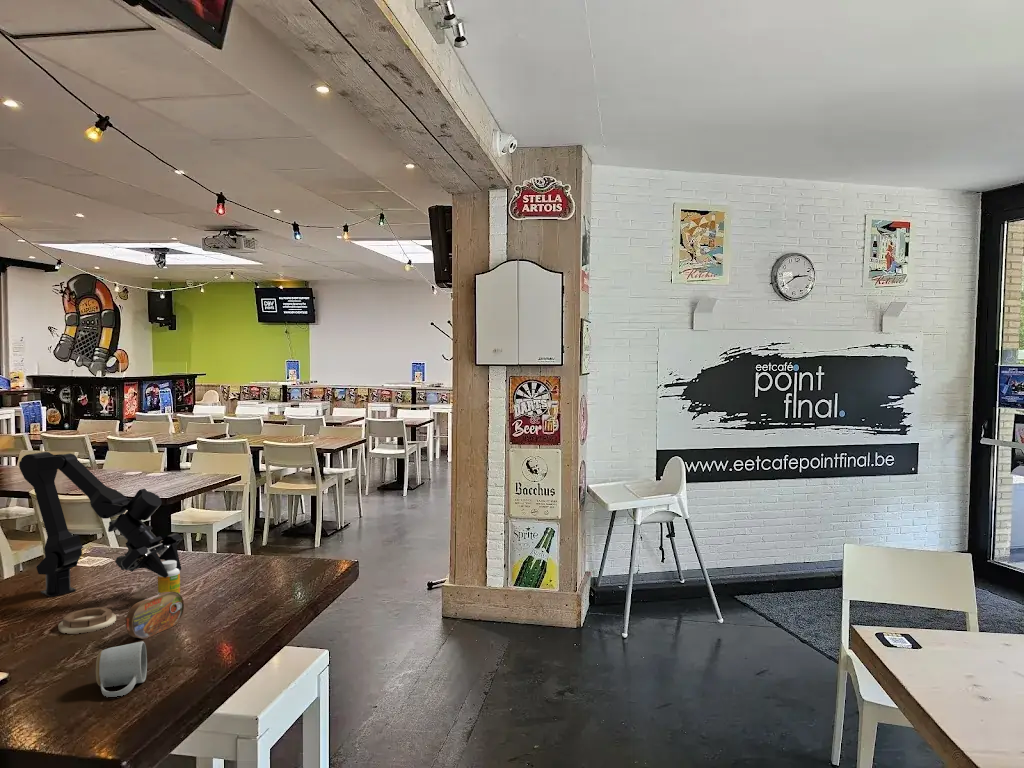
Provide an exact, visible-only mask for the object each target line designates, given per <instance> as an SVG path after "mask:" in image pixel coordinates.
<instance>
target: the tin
mask: <svg viewBox="0 0 1024 768" xmlns="http://www.w3.org/2000/svg"><path fill="white" fill-rule="evenodd" d="M184 609H185V602H184V599H183V596H182V595H181V593H180V594H179V593H177V592H163V593H160V594H158V593H157V594H156V595H154V596H150V597H148V598H146V599H143V600H140V601H138V602H136V603H134V604H133V605H132V606H131V607H130V608H129V610H128V611H127V613H126V616H125V629H126V632H127V634H128V635H129V636H130V637H132V638H136V639H142V640H144V639H146V640H147V639H149V638H151V637H153V636H156V635H157V633H158V634H159V633H161V632H164V631H166V630H168V629H170V628H173V627H174V626H176V625H177V624H178V623H179V622H180V620H181V619H182V616H183V614H184ZM148 637H149V638H148Z"/></svg>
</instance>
